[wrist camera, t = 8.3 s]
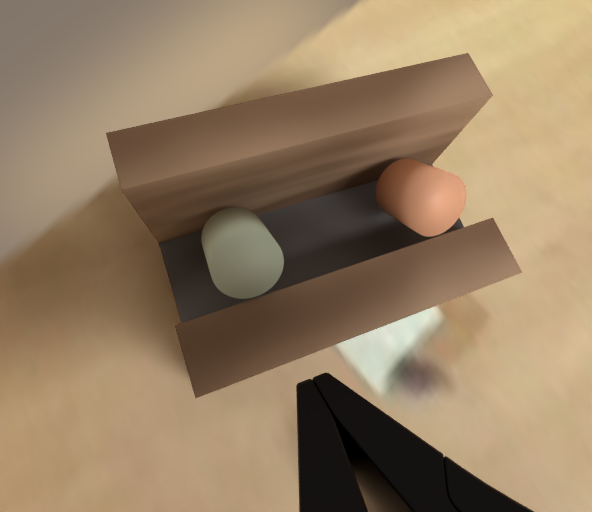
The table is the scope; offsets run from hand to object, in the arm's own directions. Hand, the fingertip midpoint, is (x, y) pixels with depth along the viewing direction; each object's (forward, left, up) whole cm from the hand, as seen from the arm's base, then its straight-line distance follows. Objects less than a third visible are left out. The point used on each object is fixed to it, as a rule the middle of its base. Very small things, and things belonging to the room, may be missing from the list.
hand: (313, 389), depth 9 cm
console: (+7, +1, -12) cm, 13 cm away
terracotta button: (+10, -2, -8) cm, 13 cm away
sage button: (+4, +4, -8) cm, 10 cm away
